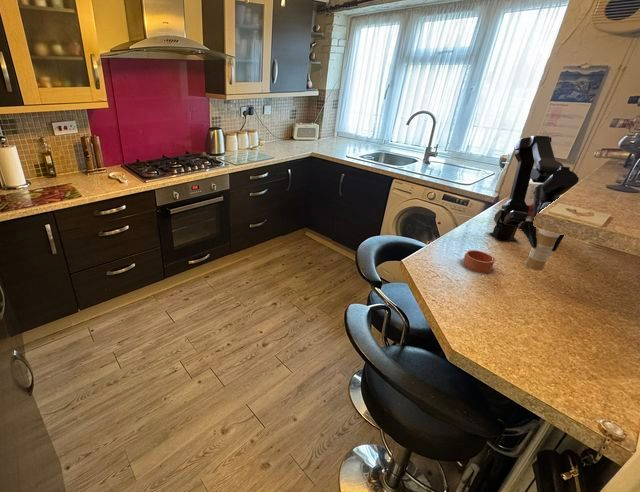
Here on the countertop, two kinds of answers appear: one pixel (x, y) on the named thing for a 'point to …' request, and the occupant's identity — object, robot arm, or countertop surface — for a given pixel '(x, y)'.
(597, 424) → the countertop surface
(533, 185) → the juice carton
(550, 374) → the countertop surface
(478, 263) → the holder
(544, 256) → the sprinkles bottle
